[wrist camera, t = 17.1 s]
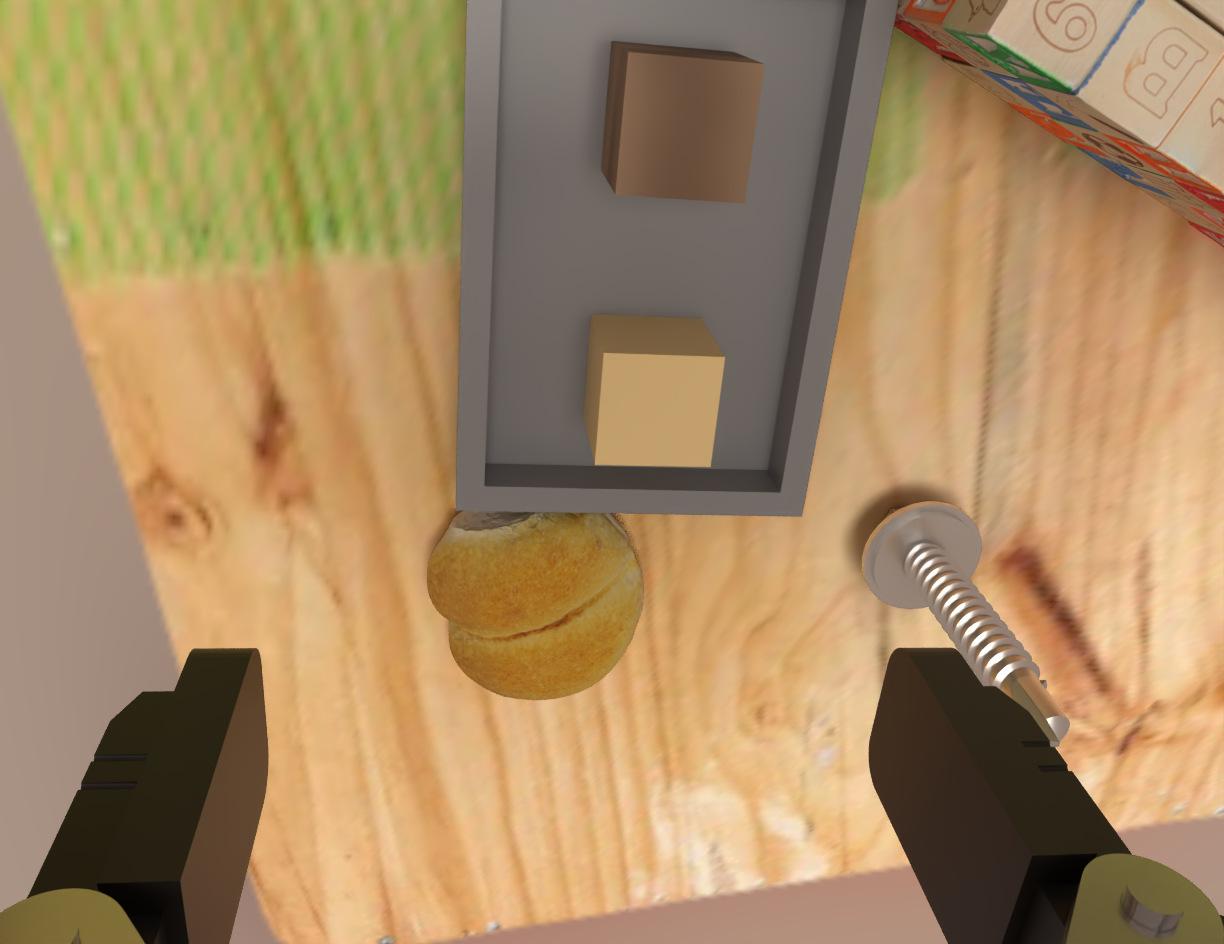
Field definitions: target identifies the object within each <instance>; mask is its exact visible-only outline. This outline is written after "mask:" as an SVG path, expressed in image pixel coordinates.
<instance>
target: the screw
mask: <svg viewBox="0 0 1224 944" xmlns="http://www.w3.org/2000/svg"><path fill="white" fill-rule="evenodd" d="M981 551H982V546H981V537H980V533H979V530H978V528H977V526H976V525H975V523H974V522H973V520H972V519H971V518H970V517H969V516H968V515H967V514H966V513H965V512H964V511H963V510H961V509H960V508H958V507H956V506H954V505H952V504H949V503H944V502H940V501H925V502H919V503H914V504H911V505H908V506H906V507H903V508H892V509H891V510H890V512H889V513H888V514H887V516H886V517H885V518H884V520H883V521H882V522H881V523H880V524H879V525H878V526H877V527H876V529H875V530H874V531H873V532H872V534H871V535H870V537H869V539H868V541H867V543H866V545H865V547H864V551H863V555H862V572H863V576H864V579H865V581H866V583H867V585H868V587H869V588H870V590H871V591H872V592H873V594H874V595H875V596H876V597H877V598H878V599H880V600H881V601H883V602H885V603H886V604H888V605H891V606H894V607H897V608H904V609H918V608H925V607H928V606H929V609H930V611H931V612H932V613H933V614H934V615H935V617H936V619H937V621H938V622H939V623H940V624H941V625H942V628H943V629H944V630H945V632H946V633H948V636H949V638H950V639H951V640H952V641H953V642H954V644H955V646H956V648H957V649H958V650H959V651H960V652H961V654H962V656H963V658H964V659H965V660H966V661H967V662H968V664H969V666H970V668H971V669H972V671H974V672H975V673H976V676H977V678H978V679H979V681H980V682H981V683H983V686H996V687H997V688H999V689H1000V690H1001V691H1003V692H1004V693H1005V694H1007V695H1008V696H1009V697H1011V698H1012V699H1013V700H1014V701H1016V702H1017V703H1018V704H1020V705H1021V706H1022V707H1024V708H1025V709H1026V710H1028V711H1029V712H1030V714H1031V715H1032V717H1033V718H1034V719H1035V721H1036V722H1037V723H1038V725H1039V726H1040V728H1041V729H1042V730H1043V732H1044V733H1045V735H1046V736H1047V737H1048V739H1049V740H1050V746H1051V747H1058V746H1059V744H1060V741H1061V740H1062V739H1063V737H1064V736H1065V735H1066V733H1067V732H1068V729H1069V725H1070V723H1069V720H1068V718H1067V716H1066V715H1065V713H1064V712H1063V710H1062V709H1061V708H1060V706H1059V705H1058V704H1057V703H1056V701H1055V700H1054V699H1053V697H1052V696H1051V695H1050V694H1049V692H1048V691H1047V690H1046V688H1047V682H1046V680H1039V677H1040V670H1039V667H1038V666H1037V665H1036V664H1035V663H1034V662H1032V657H1031V655H1030V654H1029V653H1028V652H1027V651H1025V650H1024V648H1023V645H1022V644H1021V643H1020V642H1019V641H1018V640H1016V638H1015V635H1014V634H1013V633H1012V632H1011V631H1010V630H1008V627H1007V625H1006V624H1005V622H1003V621H1002V620H1000V617H999V615H998V613H996V612H995V611H993V608H992V606H991V605H990V604H989V603H988V602H987V601H986V599H985V597H984V596H983V595H982V594H981V593H979V591H978V588H977V587H976V586H975V585H974V584H972V581H971V580H970V578H971V576H972V575H973V573H974V572H975V570H976V568H977V565H978V563H979V560H980V556H981Z"/></svg>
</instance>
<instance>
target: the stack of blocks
mask: <svg viewBox="0 0 1224 944" xmlns="http://www.w3.org/2000/svg"><path fill="white" fill-rule="evenodd" d="M894 25H895V26H896V27H898V28H899V29H901V30H902V31H904V32H905V33H907V34H908V35H910V36H912V37H913V38H915V39H916V40H918V41H919V42H921V43H922V44H924V45H925V46H927V47H929V48H930V49H932V50H933V51H934V52H936V53H939V54H941V55H942V58H943V61H945V62H946V63H948V64H949V65H951V66H952V67H954V68H955V69H957V70H958V71H960V72H961V73H963V74H964V75H966V76H967V77H969V78H970V79H972V80H973V81H975V82H976V83H978V84H979V85H981V86H982V87H984V88H985V89H987V90H988V91H990V92H991V93H993V94H994V95H996V96H997V97H999V98H1001V99H1002V100H1004V101H1006V102H1008V103H1009V104H1010V105H1011V106H1012V107H1014V108H1015V109H1016V110H1018V111H1019V112H1021V113H1022V114H1024V115H1025V116H1027V117H1028V118H1030V119H1031V120H1033V121H1034V122H1036V123H1037V124H1039V125H1040V126H1042V127H1043V128H1045V129H1046V130H1048V131H1049V132H1051V133H1052V134H1054V135H1056V136H1057V137H1059V138H1060V139H1061V140H1063V141H1064V142H1066V143H1068V144H1072V145H1074V146H1076V147H1078V148H1079V149H1081V150H1082V151H1084V152H1085V153H1087V154H1088V155H1090V156H1091V157H1093V158H1094V159H1096V160H1097V161H1099V162H1100V163H1102V164H1103V165H1105V166H1106V167H1108V168H1109V169H1111V170H1112V171H1113V172H1115V173H1116V174H1118V175H1119V176H1121V177H1122V178H1124V179H1125V180H1127V181H1129V182H1131V183H1133V184H1135V185H1136V186H1137V187H1138V188H1140V189H1141V190H1143V191H1144V192H1146V193H1147V194H1149V195H1150V196H1152V197H1153V198H1155V199H1156V200H1158V201H1159V202H1161V203H1162V204H1164V205H1165V206H1167V207H1168V208H1170V209H1171V210H1173V211H1175V212H1176V213H1178V214H1179V215H1181V216H1182V217H1184V218H1185V219H1187V220H1188V221H1189V223H1190V225H1192V226H1194V227H1195V228H1196V229H1198V230H1199V231H1200V232H1202V233H1203V234H1205V235H1207V236H1208V237H1210V238H1211V239H1213V240H1214V241H1216V242H1217V243H1219V244H1220V245H1221V246H1223V247H1224V0H898V6H897V11H896V16H895V22H894Z"/></svg>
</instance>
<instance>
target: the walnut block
mask: <svg viewBox="0 0 1224 944" xmlns="http://www.w3.org/2000/svg"><path fill="white" fill-rule="evenodd" d="M764 67H765V64H763V63H761V62H758V61H756V60H753V59H751V58H748V57H746V56H743V55H741V54H738V53H736V52H730V51H718V50H707V49H696V48H685V47H674V46H663V45H652V44H641V43H630V42H619V41H612V42H611V53H610V65H609V77H608V89H607V101H606V112H605V124H604V136H603V148H602V160H601V171H602V173H603V174H604V176H605V178H606V180H607V181H608V183H609V185H610V186H611V188H612V190H613V192H614V193H615V195H627V196H642V197H656V198H671V199H685V200H700V201H714V202H729V203H743V204H745V198H746V191H747V184H748V177H749V170H750V163H751V157H752V150H753V143H754V136H755V129H756V122H757V115H758V108H759V102H760V95H761V88H762V81H763V74H764Z"/></svg>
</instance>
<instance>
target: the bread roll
mask: <svg viewBox="0 0 1224 944" xmlns="http://www.w3.org/2000/svg"><path fill="white" fill-rule="evenodd" d="M427 586H428V592H429V596H430V599H431V601H432V603H433V604H434V606H435V608H436V609H437V611H438V612H439V613H440V614H441V615H442V616H444V617H445V618H446V619H448V620H449V621H450V622H449V643H450V649H451V652H452V655H453V657H454V659H455V661H456V663H457V664H458V666H459V667H460V668H461V670H462V671H463V672H464V673H465V674H466V675H467V676H468V677H469V678H471V679H472V680H473V681H475V682H476V683H478V684H479V685H481V686H482V687H484V688H486V689H487V690H489V691H492V692H494V693H496V694H498V695H501V696H505V697H510V698H516V699H527V700H547V699H556V698H561V697H565V696H569V695H572V694H575V693H578V692H581V691H583V690H585V689H587V688H589V687H591V686H593V685H594V684H595V683H597V682H598V681H600V680H601V679H602V678H603V677H604V676H606V675H607V674H608V673H609V672H610V671H611V670H612V669H613V668H614V666H615V665H616V664H617V663H618V661H619V660H620V658H621V657H622V655H623V654H624V652H625V651H626V649H627V647H628V645H629V644H630V642H631V640H632V638H633V635H634V632H635V629H636V626H637V623H638V621H639V618H640V615H641V612H642V609H643V598H644V586H643V576H642V571H641V568H640V566H639V563H638V561H637V559H636V557H635V554H634V550H633V548H632V546H631V544H630V541H629V537H628V536H627V534H626V532H625V530H624V529H623V527H622V526H621V525H620V524H619V522H618V521H617V520H616V519H615V518H614V516H613V515H612V514H611V513H571V512H514V511H462V512H460V513H459V514H458V515H457V516H456V517H454V518H453V520H452V522H451V524H450V526H449V528H448V530H447V531H446V533H445V535H444V536H443V538H442V539H441V540H440V542H439V543H438V544H437V546H436V547H435V549H434V551H433V553H432V555H431V557H430V559H429V562H428V570H427Z"/></svg>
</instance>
